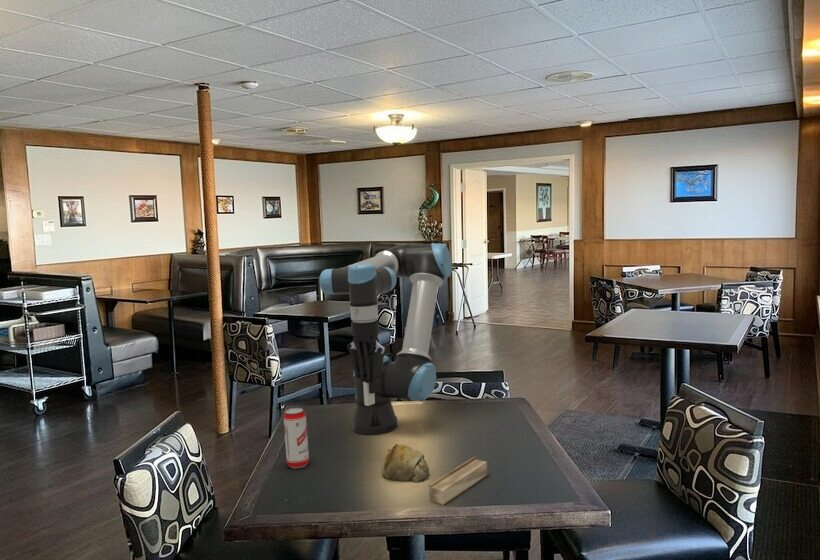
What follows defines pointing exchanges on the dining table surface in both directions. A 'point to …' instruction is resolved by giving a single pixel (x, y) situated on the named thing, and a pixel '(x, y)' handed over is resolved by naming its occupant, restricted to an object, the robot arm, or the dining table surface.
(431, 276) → the robot arm
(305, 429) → the beer can
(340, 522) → the dining table surface
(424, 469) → the pastry
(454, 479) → the wooden block
